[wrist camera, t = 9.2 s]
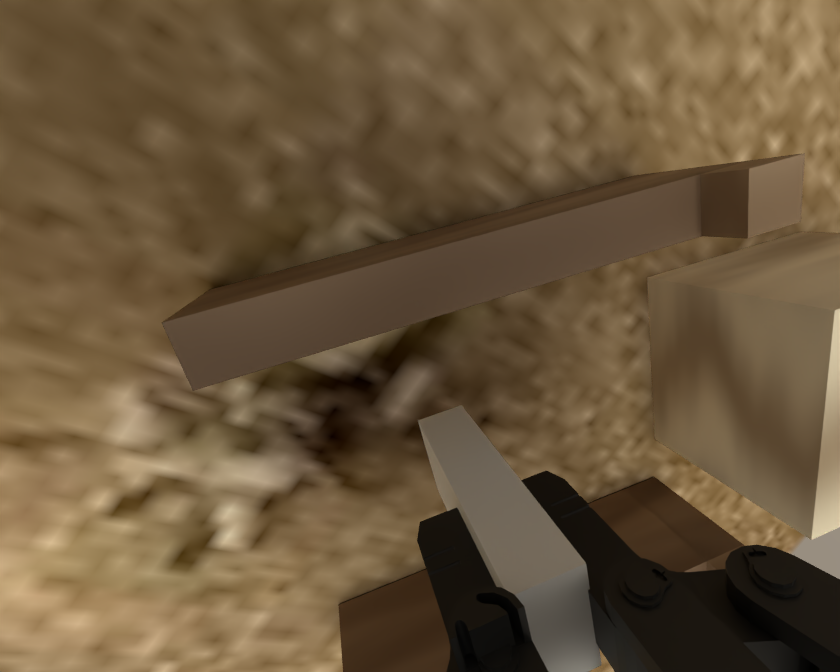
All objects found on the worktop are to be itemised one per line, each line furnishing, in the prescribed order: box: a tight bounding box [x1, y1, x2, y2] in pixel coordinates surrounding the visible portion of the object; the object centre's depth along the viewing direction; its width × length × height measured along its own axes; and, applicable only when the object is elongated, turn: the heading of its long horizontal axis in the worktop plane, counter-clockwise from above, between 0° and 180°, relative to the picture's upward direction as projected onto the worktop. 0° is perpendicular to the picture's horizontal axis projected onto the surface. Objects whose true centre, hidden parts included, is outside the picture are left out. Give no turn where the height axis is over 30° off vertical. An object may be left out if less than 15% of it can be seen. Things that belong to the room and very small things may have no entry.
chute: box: [162, 153, 805, 672], centre depth 13 cm, size 14×14×5 cm
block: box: [647, 232, 840, 540], centre depth 14 cm, size 7×7×6 cm
